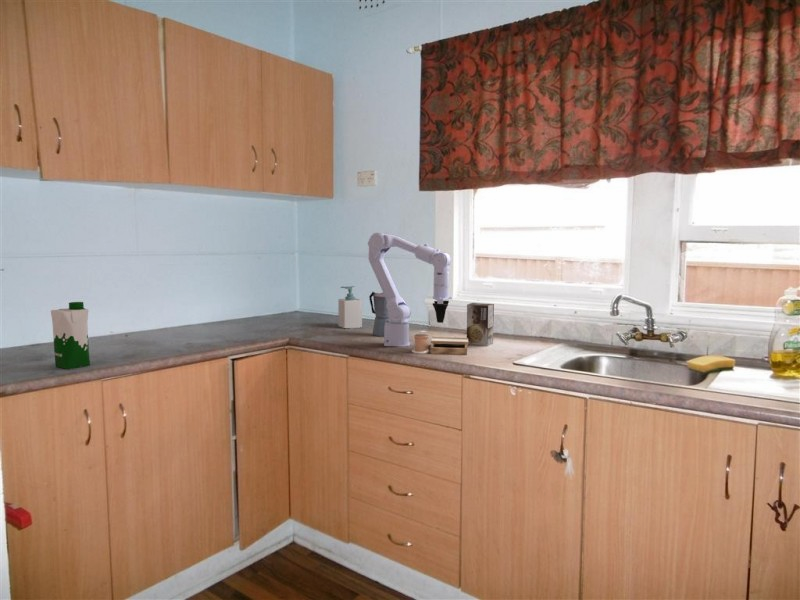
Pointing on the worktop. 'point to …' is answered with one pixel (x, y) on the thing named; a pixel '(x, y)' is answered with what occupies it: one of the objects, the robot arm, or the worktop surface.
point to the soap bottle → (350, 311)
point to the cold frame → (448, 349)
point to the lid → (449, 340)
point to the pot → (420, 342)
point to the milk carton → (71, 336)
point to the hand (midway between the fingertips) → (440, 321)
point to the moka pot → (379, 313)
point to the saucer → (420, 352)
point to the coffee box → (480, 323)
